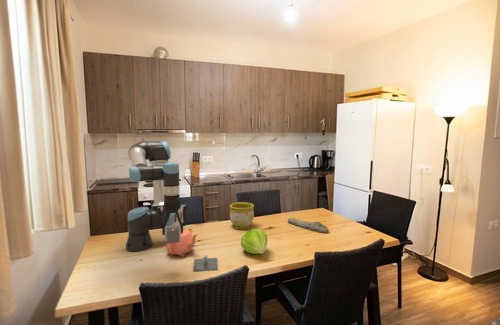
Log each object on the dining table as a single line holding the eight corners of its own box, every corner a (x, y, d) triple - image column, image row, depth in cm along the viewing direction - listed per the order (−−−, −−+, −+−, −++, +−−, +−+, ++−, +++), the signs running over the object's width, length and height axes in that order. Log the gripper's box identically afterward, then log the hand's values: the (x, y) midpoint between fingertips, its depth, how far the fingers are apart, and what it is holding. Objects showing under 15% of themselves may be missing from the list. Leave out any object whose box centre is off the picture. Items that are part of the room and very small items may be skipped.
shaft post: (194, 260, 145) (194, 252, 145) (216, 259, 147) (216, 250, 146) (193, 271, 133) (193, 262, 133) (217, 269, 135) (217, 260, 135)
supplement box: (173, 233, 186) (172, 209, 185) (164, 230, 191) (163, 207, 189) (183, 229, 194) (183, 206, 193) (174, 227, 199) (173, 204, 197)
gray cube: (166, 239, 135) (166, 227, 135) (178, 238, 137) (178, 226, 137) (166, 243, 130) (166, 231, 129) (179, 242, 132) (179, 229, 131)
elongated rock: (292, 222, 217) (284, 225, 210) (292, 215, 216) (284, 218, 209) (331, 230, 191) (324, 235, 184) (331, 223, 190) (323, 227, 184)
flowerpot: (231, 222, 209) (231, 202, 208) (254, 223, 209) (254, 202, 207) (228, 230, 191) (228, 208, 190) (253, 231, 191) (253, 208, 189)
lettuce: (247, 262, 143) (247, 237, 142) (237, 247, 162) (237, 225, 161) (274, 258, 148) (274, 234, 147) (261, 244, 167) (261, 223, 166)
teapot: (191, 244, 166) (191, 223, 165) (199, 255, 151) (199, 232, 150) (164, 249, 159) (164, 227, 158) (170, 261, 144) (169, 237, 143)
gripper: (150, 197, 125) (152, 245, 127) (192, 194, 131) (193, 240, 133) (151, 194, 132) (152, 239, 134) (190, 191, 138) (191, 235, 140)
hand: (173, 240), depth 134 cm, fingers closed on gray cube, 6 cm apart
